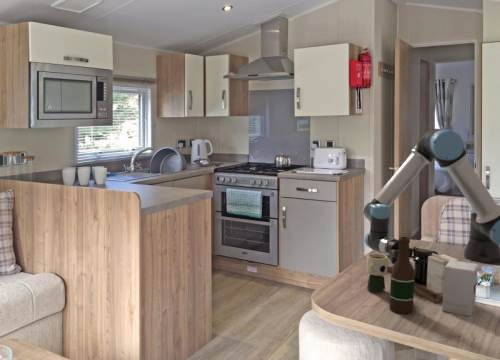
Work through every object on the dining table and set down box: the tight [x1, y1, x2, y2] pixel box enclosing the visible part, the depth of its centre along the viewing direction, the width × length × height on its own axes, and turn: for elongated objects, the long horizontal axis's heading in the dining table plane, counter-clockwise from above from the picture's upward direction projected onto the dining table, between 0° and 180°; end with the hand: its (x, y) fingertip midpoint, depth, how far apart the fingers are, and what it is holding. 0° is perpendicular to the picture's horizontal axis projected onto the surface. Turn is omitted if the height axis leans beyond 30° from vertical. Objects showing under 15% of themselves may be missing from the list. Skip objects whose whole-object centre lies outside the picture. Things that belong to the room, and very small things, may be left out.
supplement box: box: [441, 260, 479, 317], centre depth 159 cm, size 9×9×15 cm
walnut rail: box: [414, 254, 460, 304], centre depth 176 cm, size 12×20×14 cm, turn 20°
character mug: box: [366, 252, 389, 294], centre depth 175 cm, size 11×7×13 cm, turn 142°
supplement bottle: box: [412, 248, 432, 285], centre depth 179 cm, size 7×7×12 cm
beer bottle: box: [389, 236, 415, 315], centre depth 158 cm, size 8×8×24 cm
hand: (429, 263), depth 175 cm, fingers open, 13 cm apart
